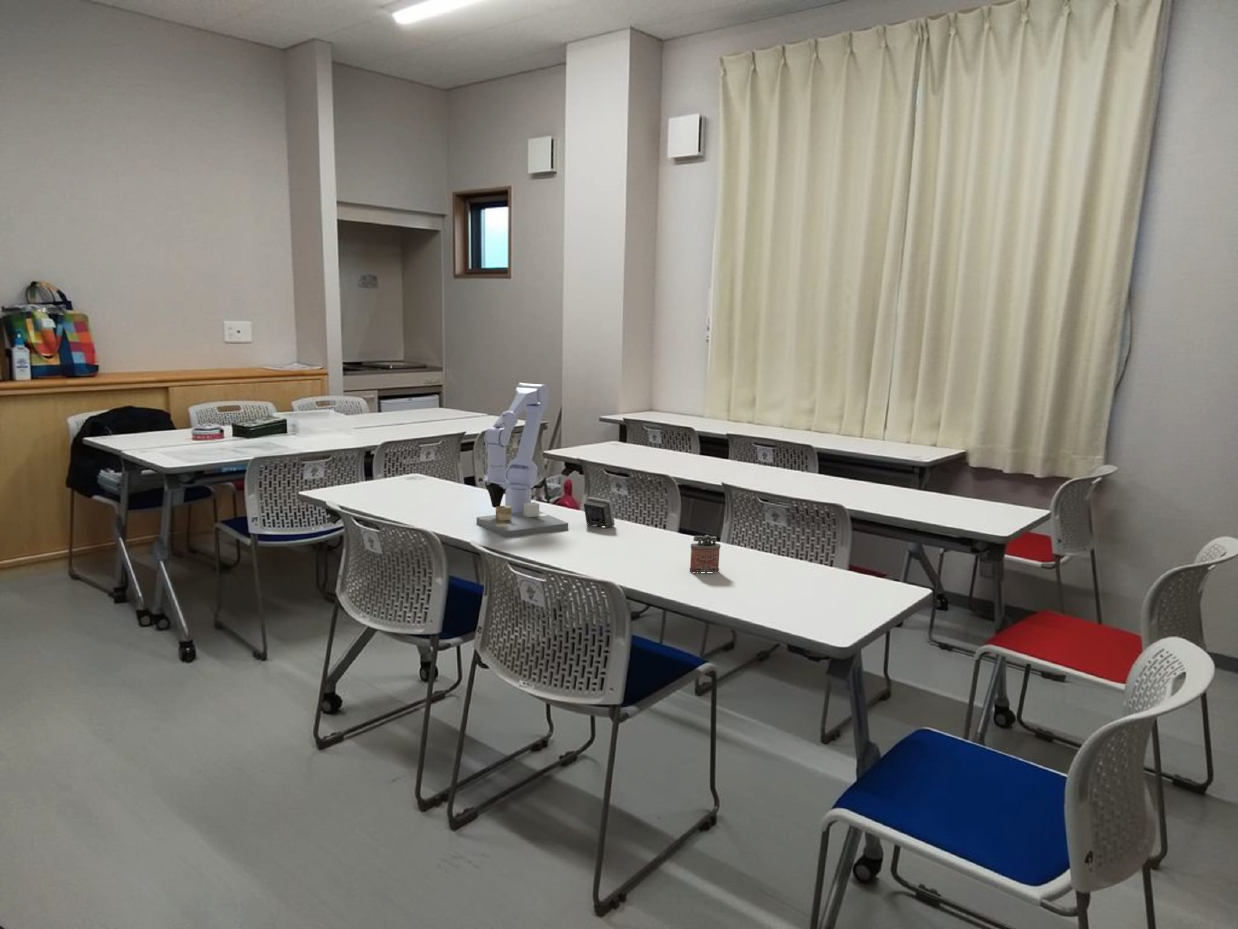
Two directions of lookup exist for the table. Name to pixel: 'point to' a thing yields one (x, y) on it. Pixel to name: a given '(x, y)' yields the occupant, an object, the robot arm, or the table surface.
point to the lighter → (705, 554)
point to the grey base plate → (522, 524)
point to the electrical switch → (599, 512)
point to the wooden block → (503, 512)
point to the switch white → (531, 509)
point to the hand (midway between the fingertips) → (496, 506)
